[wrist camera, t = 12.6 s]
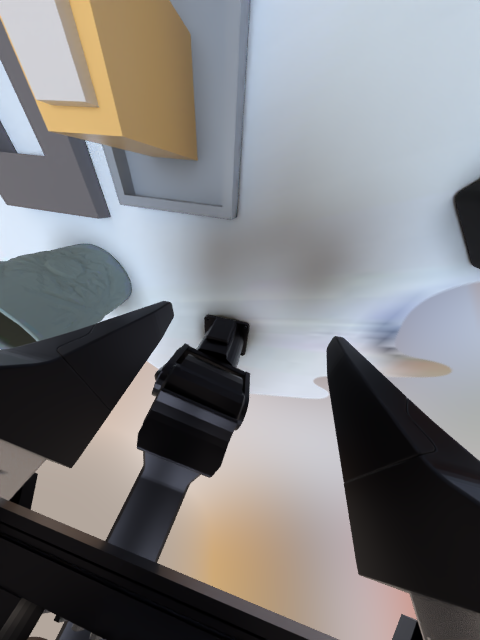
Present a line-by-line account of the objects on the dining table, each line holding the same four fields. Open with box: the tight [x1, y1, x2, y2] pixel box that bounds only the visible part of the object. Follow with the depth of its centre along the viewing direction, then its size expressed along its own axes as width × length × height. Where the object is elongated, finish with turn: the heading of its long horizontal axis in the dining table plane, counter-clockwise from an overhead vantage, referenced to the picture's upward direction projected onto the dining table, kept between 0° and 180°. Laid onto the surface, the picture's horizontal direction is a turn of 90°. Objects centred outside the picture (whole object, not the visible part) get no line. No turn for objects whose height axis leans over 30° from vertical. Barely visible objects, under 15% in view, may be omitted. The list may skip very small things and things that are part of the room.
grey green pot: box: [0, 244, 132, 350], centre depth 20 cm, size 10×10×12 cm
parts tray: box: [102, 0, 250, 220], centre depth 12 cm, size 13×11×2 cm
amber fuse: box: [0, 0, 198, 161], centre depth 9 cm, size 6×4×9 cm
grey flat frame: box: [0, 19, 110, 219], centre depth 14 cm, size 16×12×2 cm
